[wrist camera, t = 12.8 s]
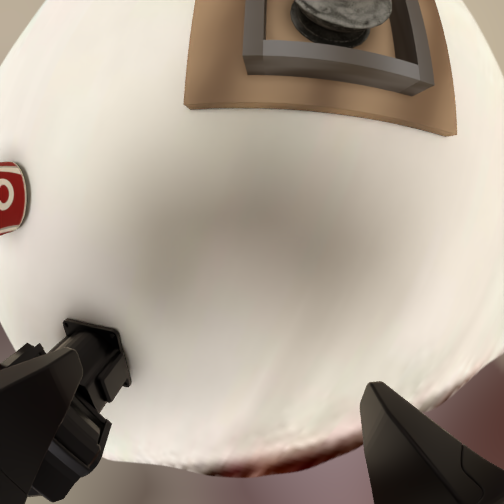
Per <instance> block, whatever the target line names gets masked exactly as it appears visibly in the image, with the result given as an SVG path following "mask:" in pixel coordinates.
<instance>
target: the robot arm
mask: <svg viewBox="0 0 504 504" xmlns="http://www.w3.org/2000/svg"><path fill="white" fill-rule="evenodd" d="M63 326H64V329H65V332H66V337H65V338H64V339H62V340H61V341H60V342H59V343H58V344H57V345H56V346H55V347H54V348H53V349H51V350H50V351H49V352H48V353H47V354H46V353H45V351H44V350H43V349H44V348H43V347H42V346H41V344H40V343H39V344H38V345H37V346H35V347H34V346H32V345H30V344H29V343H26V344H25V345H24V346H23V347H22V348H20V349H19V350H18V351H17V352H15V353H14V354H13V355H11V356H10V357H9V358H7V359H6V360H5V361H3V362H2V363H1V364H0V504H25V502H26V499H27V497H33V496H43V497H45V498H46V499H48V500H49V501H51V502H56V501H59V500H62V499H64V498H65V496H66V495H67V493H68V492H69V491H70V489H71V488H72V486H73V485H74V484H75V483H76V482H77V481H78V480H79V478H80V477H84V476H86V475H88V474H89V473H90V472H91V471H93V469H94V468H95V467H96V466H97V465H98V463H99V461H100V459H101V457H102V454H103V451H104V448H105V444H106V441H107V438H108V434H109V431H110V428H111V425H112V423H111V422H110V421H109V420H107V419H105V418H104V417H103V416H102V415H101V414H100V412H101V410H102V409H103V407H104V406H105V404H106V403H107V402H108V403H110V402H112V401H113V399H114V398H115V396H116V395H117V393H118V392H119V390H120V388H121V387H122V386H124V387H129V386H130V384H131V380H130V376H129V371H128V367H127V364H126V360H125V356H124V353H123V349H122V345H121V341H120V337H119V333H118V332H117V331H116V330H115V329H111V328H106V327H101V326H97V325H92V324H88V323H83V322H79V321H75V320H71V319H66V320H64V321H63ZM112 334H113V335H114V336H113V335H112ZM360 415H361V424H362V434H363V445H364V453H365V458H366V463H367V468H368V473H369V478H370V483H371V488H372V494H373V500H374V504H504V470H503V469H501V468H499V467H497V466H496V465H494V464H492V463H490V462H489V461H487V460H485V459H484V458H482V457H481V456H479V455H478V454H477V453H475V452H474V451H472V450H471V449H470V448H468V447H467V446H465V445H464V444H463V445H462V443H461V442H460V441H459V440H457V439H456V438H454V437H453V436H452V435H451V434H449V433H448V432H447V431H445V430H444V429H443V428H441V427H440V426H439V425H437V424H436V423H435V422H434V421H432V420H431V419H430V418H428V417H427V416H426V415H424V414H423V413H422V412H421V411H419V410H418V409H417V408H415V407H414V406H413V405H412V404H410V403H409V402H408V401H406V400H405V399H404V398H403V397H401V396H400V395H399V394H397V393H396V392H395V391H394V390H392V389H391V388H390V387H389V386H387V385H386V384H385V383H383V382H381V381H378V382H370V383H368V384H367V386H366V389H365V391H364V394H363V397H362V399H361V402H360Z"/></svg>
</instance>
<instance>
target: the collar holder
mask: <svg viewBox="0 0 504 504" xmlns="http://www.w3.org/2000/svg"><path fill="white" fill-rule="evenodd" d="M391 1H392V12H391V14H390V16H389V18H388V19H387V20H386V21H385V22H384V23H383V24H381V25H379V26H376V27H373V28H370V33H369V35H368V37H367V39H366V40H365V41H364V42H363V43H362V44H361V45H359V46H356V47H354V48H347V47H341V46H335V45H328V44H320V43H314V42H312V41H310V40H309V39H307V38H306V37H304V36H303V35H302V34H301V33H300V32H299V31H298V30H297V29H296V28H295V26H294V24H293V22H292V21H291V15H290V11H291V6H292V4H293V2H294V0H195V6H194V13H193V19H192V26H191V34H190V42H189V50H188V60H187V69H186V80H185V93H184V105H185V106H187V107H188V108H189V109H209V108H275V109H293V110H306V111H317V112H326V113H335V114H343V115H350V116H356V117H363V118H369V119H374V120H380V121H385V122H390V123H395V124H399V125H404V126H408V127H412V128H416V129H420V130H424V131H428V132H432V133H435V134H439V135H442V136H453V135H457V120H456V105H455V95H454V86H453V78H452V72H451V65H450V60H449V54H448V49H447V44H446V40H445V36H444V31H443V27H442V24H441V20H440V16H439V13H438V10H437V6H436V3H435V0H391Z"/></svg>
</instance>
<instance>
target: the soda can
mask: <svg viewBox="0 0 504 504" xmlns="http://www.w3.org/2000/svg"><path fill="white" fill-rule="evenodd" d="M26 201H27V193H26V184H25V180H24V176H23V174H22V171H21V169H20V168H19V167H18V165H17V164H15V163H14V162H0V235H3V234H6V233H9V232H12V231H15V230H16V229H17V228H18V227H19V226H20V225H21V223H22V221H23V218H24V215H25V210H26Z"/></svg>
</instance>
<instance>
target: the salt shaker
mask: <svg viewBox="0 0 504 504" xmlns="http://www.w3.org/2000/svg"><path fill="white" fill-rule="evenodd" d="M391 12H392V1H391V0H294V2H293V4H292V6H291V11H290V15H291V21H292V22H293V24H294V26H295V28H296V29H297V30H298V31H299V32H300V33H301V34H302V35H303V36H304V37H306V38H307V39H309V40H310V41H312V42H314V43H320V44H328V45H335V46H341V47H347V48H354V47H356V46H359V45H361V44H362V43H363V42H364V41H365V40H366V39H367V37H368V35H369V33H370V28H373V27H376V26H379V25H381V24H383V23H384V22H385V21H386V20H387V19H388V18H389V16H390V14H391Z"/></svg>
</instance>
